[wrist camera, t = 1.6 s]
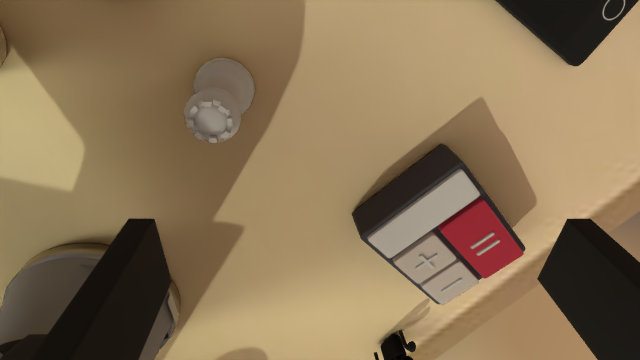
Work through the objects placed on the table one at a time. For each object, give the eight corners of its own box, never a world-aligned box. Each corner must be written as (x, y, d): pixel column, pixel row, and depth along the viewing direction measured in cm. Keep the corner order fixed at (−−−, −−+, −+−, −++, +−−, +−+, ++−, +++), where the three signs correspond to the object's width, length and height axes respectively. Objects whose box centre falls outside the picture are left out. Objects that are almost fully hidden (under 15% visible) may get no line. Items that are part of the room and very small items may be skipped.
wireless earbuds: (402, 320, 44) (417, 358, 39) (416, 326, 45) (432, 364, 40) (367, 352, 46) (377, 391, 42) (381, 357, 47) (392, 395, 43)
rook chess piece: (194, 109, 27) (168, 152, 21) (196, 50, 25) (169, 77, 18) (251, 118, 28) (245, 162, 21) (258, 62, 26) (254, 91, 19)
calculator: (441, 312, 38) (360, 243, 30) (425, 281, 41) (349, 213, 34) (532, 255, 35) (467, 165, 28) (506, 227, 39) (443, 141, 31)
